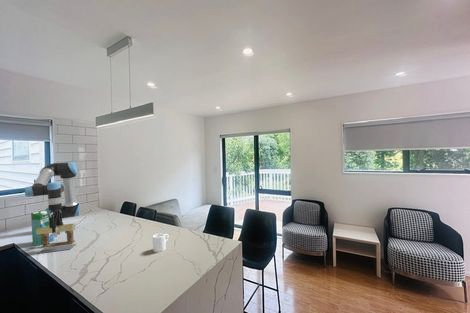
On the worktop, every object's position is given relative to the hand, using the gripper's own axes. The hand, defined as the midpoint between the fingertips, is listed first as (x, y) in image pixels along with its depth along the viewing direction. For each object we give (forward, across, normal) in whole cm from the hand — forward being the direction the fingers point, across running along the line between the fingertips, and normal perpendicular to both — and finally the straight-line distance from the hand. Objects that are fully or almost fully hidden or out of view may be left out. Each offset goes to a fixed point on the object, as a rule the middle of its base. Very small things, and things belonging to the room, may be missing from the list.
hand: (56, 235), depth 155 cm
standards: (+10, -10, -4) cm, 15 cm away
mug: (+11, +27, +75) cm, 80 cm away
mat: (+10, 0, 0) cm, 10 cm away
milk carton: (+10, -20, -19) cm, 30 cm away
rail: (-3, 0, 0) cm, 3 cm away
